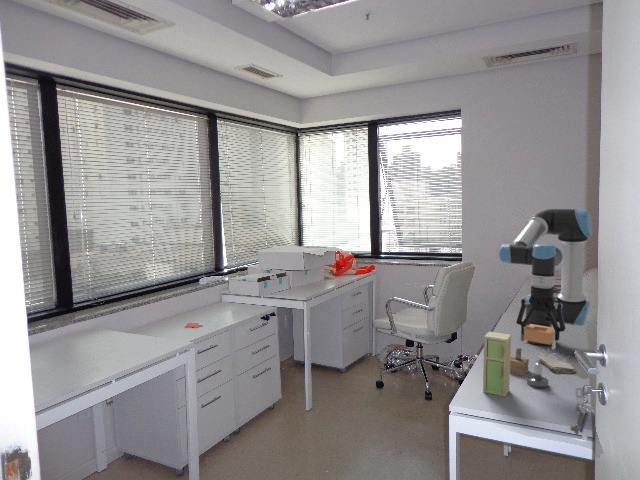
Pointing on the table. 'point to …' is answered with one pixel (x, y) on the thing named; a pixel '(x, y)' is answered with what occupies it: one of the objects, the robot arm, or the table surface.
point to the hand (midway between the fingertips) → (539, 345)
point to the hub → (537, 378)
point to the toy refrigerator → (496, 363)
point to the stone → (557, 365)
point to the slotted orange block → (538, 334)
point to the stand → (518, 363)
